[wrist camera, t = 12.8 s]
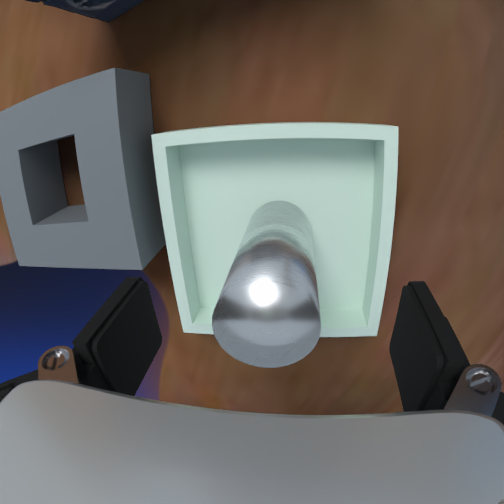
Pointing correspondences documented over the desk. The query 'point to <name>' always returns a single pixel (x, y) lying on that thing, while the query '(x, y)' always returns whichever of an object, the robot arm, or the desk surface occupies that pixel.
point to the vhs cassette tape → (94, 7)
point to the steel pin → (271, 291)
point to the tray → (281, 189)
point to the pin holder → (83, 174)
